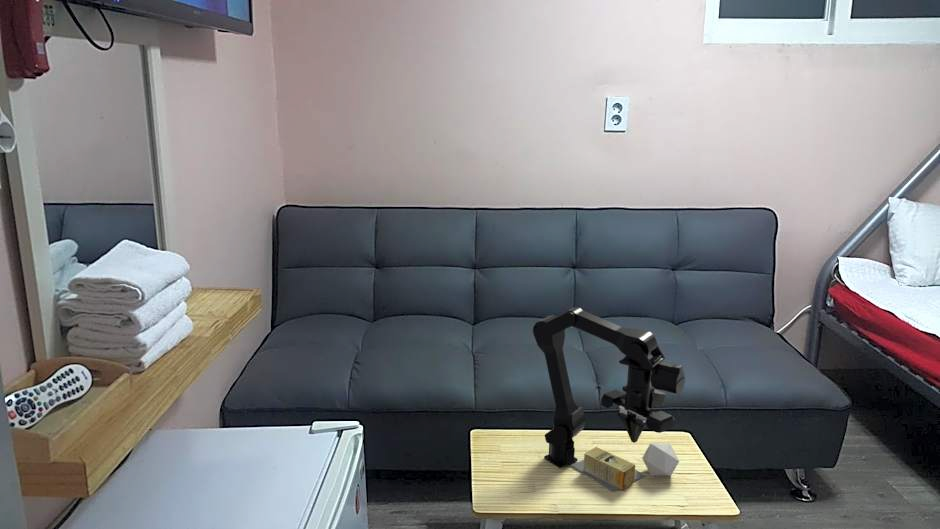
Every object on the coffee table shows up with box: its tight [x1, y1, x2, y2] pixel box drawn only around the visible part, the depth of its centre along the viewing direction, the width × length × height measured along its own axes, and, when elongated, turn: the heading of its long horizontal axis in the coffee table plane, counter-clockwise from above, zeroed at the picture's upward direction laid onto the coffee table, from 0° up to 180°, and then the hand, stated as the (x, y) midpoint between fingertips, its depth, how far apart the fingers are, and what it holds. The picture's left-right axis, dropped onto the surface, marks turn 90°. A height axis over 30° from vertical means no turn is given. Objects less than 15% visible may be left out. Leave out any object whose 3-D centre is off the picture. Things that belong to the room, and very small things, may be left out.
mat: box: [570, 459, 646, 493], centre depth 184 cm, size 14×12×1 cm
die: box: [641, 442, 680, 477], centre depth 183 cm, size 8×9×10 cm
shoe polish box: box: [583, 446, 636, 490], centre depth 180 cm, size 5×5×12 cm
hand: (634, 441), depth 175 cm, fingers closed
